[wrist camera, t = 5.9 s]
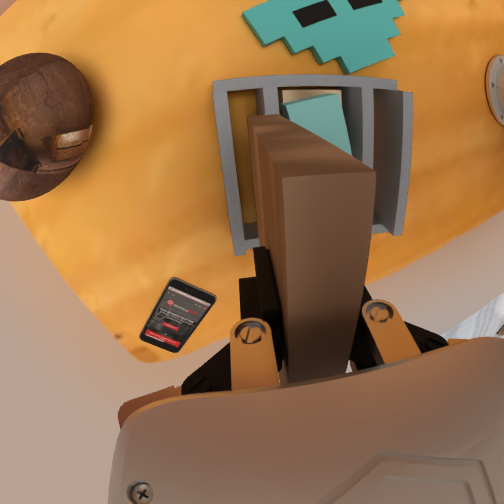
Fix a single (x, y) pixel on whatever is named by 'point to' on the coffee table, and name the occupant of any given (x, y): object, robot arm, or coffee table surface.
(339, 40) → the alien figure
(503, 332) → the wooden fragment
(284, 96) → the offcut oak wide
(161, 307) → the smartphone
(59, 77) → the wooden sphere
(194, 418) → the robot arm
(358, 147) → the rack
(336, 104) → the offcut teal
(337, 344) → the brown block
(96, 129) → the coffee table surface
